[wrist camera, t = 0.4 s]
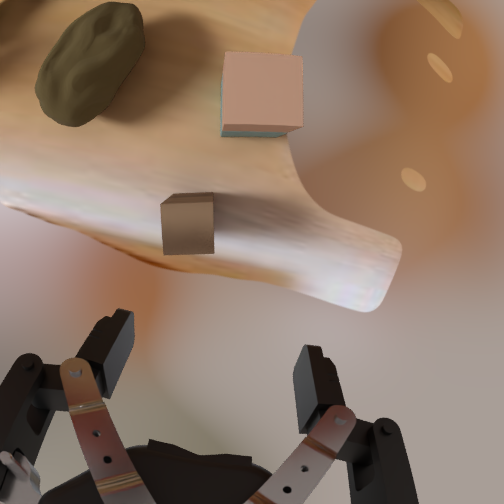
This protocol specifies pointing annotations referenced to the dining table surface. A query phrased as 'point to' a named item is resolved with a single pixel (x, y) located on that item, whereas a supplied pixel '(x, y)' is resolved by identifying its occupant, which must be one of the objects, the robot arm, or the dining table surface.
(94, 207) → the dining table surface
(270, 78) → the tower top
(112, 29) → the decorative stone
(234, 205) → the dining table surface
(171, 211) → the pillar
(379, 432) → the robot arm
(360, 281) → the dining table surface
